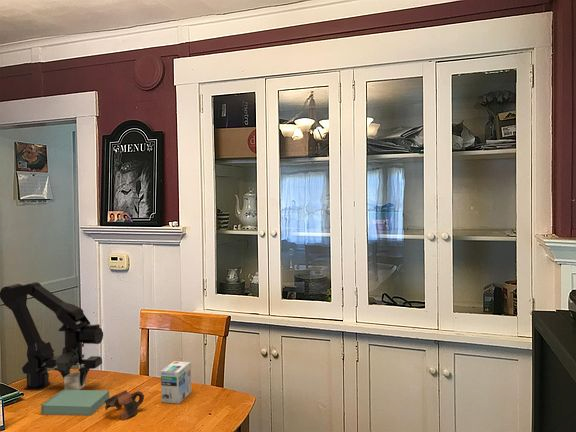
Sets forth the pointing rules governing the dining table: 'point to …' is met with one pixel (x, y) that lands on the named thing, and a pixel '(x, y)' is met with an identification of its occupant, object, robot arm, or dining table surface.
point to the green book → (75, 402)
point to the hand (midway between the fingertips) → (74, 385)
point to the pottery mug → (125, 403)
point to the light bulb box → (176, 382)
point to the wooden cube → (73, 381)
